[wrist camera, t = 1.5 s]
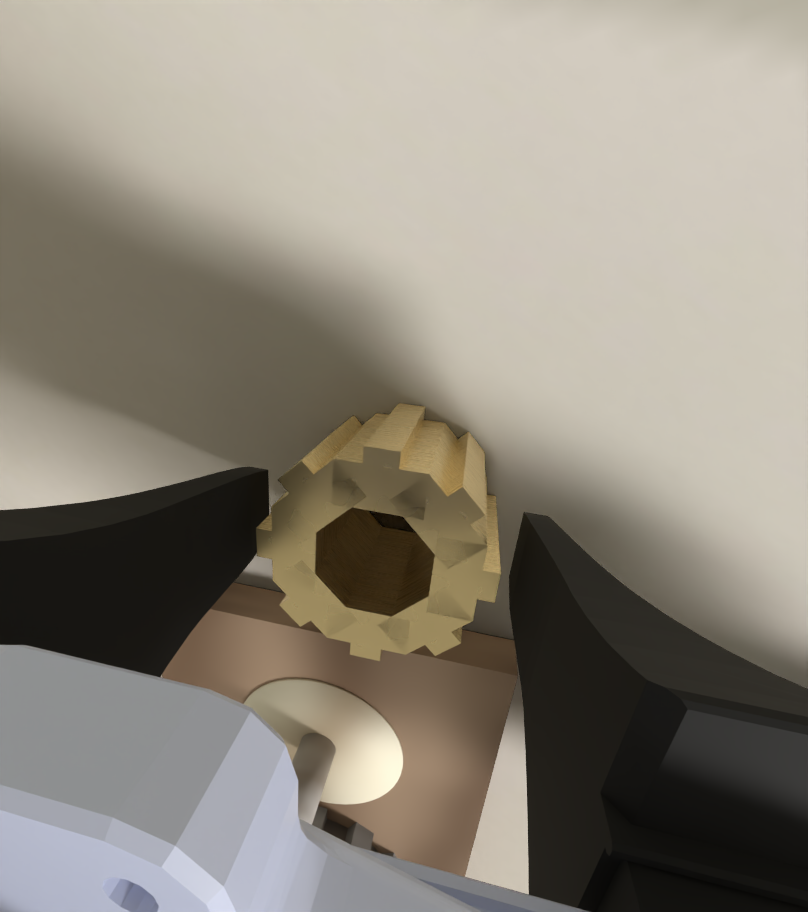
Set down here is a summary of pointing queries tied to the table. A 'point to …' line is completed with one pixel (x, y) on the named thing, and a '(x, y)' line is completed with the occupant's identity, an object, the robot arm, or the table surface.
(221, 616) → the gear board
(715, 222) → the table surface
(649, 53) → the table surface
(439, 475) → the wooden gear
